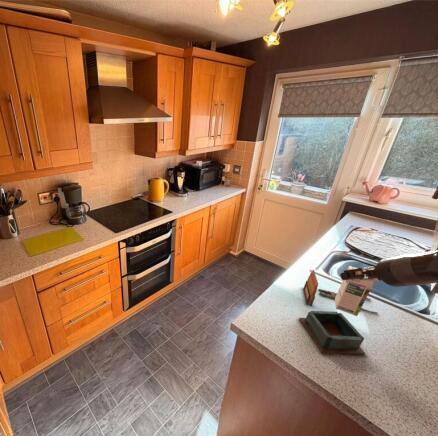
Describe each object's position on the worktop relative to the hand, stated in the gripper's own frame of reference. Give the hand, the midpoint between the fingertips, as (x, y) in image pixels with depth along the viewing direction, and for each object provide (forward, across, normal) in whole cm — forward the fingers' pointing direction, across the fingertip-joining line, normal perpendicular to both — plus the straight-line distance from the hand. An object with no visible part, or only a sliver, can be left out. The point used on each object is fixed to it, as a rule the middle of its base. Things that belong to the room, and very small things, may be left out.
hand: (354, 277), depth 74 cm
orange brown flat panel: (+32, -3, +6) cm, 33 cm away
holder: (+18, 0, +19) cm, 27 cm away
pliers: (+30, -19, +7) cm, 36 cm away
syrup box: (+7, 0, +9) cm, 12 cm away
